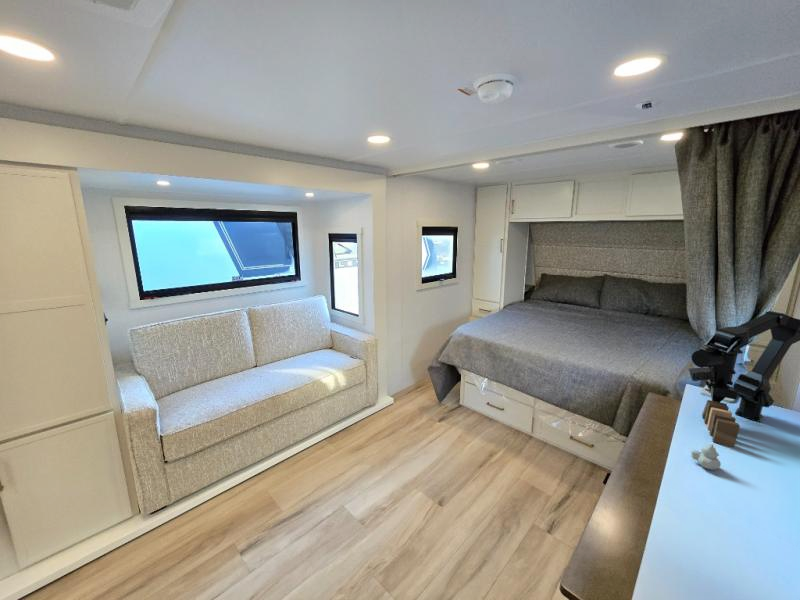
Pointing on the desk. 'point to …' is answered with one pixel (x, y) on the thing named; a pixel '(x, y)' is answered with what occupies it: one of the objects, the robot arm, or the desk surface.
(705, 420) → the domino
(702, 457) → the grey lumpy figure
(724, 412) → the domino
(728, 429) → the domino
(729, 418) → the domino
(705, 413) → the domino
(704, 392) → the handheld gaming console
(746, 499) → the desk surface
